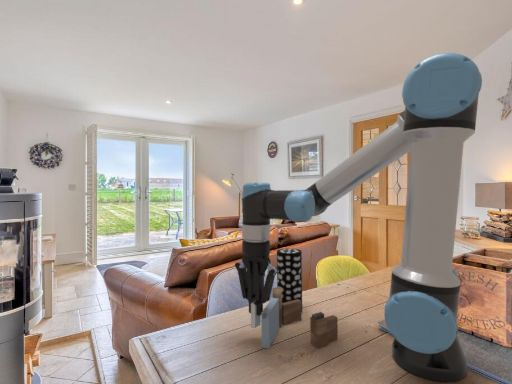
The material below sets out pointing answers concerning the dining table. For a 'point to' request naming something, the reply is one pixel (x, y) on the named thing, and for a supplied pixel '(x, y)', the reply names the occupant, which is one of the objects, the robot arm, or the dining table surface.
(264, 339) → the gate
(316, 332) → the pair of brown blocks
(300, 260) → the white-spotted black cylinder
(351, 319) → the dining table surface
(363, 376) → the dining table surface
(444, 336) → the robot arm
